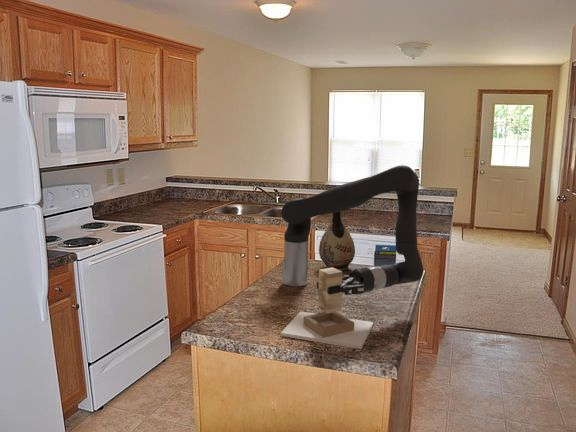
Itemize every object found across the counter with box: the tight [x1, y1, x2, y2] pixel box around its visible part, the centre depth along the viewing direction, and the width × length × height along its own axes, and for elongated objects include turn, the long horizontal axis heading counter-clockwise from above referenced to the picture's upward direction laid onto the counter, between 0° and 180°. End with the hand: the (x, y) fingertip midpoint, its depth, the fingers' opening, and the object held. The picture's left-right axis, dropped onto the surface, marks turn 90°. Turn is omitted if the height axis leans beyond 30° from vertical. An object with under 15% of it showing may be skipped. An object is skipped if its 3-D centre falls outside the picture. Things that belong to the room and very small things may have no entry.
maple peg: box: [317, 267, 343, 313], centre depth 151 cm, size 5×5×12 cm
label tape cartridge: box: [373, 244, 397, 267], centre depth 212 cm, size 9×4×12 cm, turn 85°
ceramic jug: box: [318, 211, 356, 271], centre depth 214 cm, size 17×15×30 cm
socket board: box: [280, 311, 374, 350], centre depth 153 cm, size 24×18×4 cm
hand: (323, 288), depth 149 cm, fingers closed on maple peg, 5 cm apart
